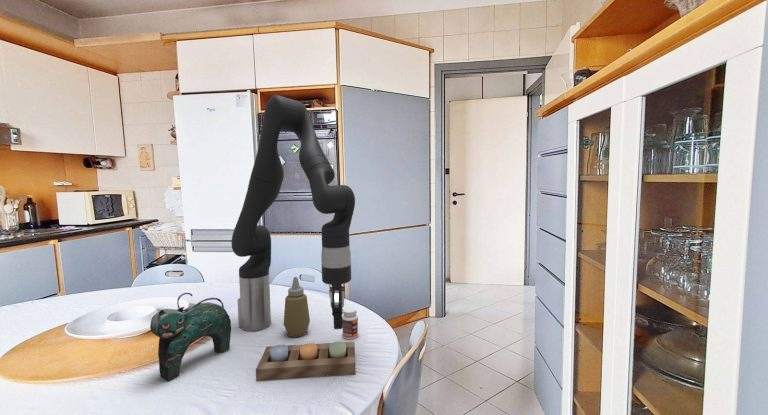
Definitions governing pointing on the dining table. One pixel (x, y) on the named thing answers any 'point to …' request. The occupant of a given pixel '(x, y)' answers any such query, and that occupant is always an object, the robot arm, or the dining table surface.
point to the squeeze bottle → (296, 311)
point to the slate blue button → (279, 353)
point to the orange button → (308, 351)
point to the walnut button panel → (306, 364)
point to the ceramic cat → (188, 332)
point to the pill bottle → (350, 323)
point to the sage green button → (337, 350)
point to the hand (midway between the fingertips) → (338, 327)
